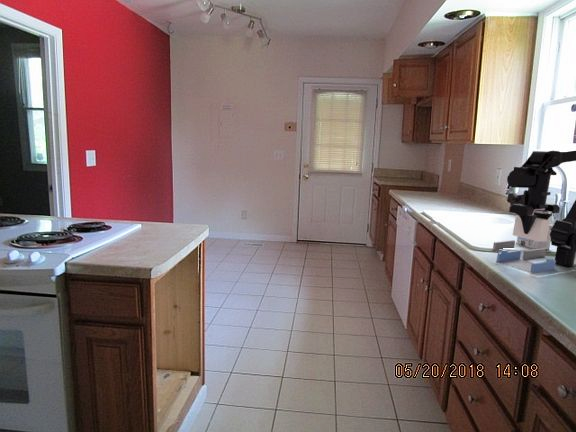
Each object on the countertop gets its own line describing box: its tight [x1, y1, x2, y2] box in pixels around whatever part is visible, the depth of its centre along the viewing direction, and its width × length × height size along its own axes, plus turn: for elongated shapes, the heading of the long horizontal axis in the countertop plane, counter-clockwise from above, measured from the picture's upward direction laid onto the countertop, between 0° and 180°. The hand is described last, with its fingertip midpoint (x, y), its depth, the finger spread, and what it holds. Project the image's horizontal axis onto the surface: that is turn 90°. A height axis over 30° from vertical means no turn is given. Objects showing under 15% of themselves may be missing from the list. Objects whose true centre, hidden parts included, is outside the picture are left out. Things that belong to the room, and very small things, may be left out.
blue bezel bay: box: [496, 249, 557, 274], centre depth 136 cm, size 12×13×4 cm
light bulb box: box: [515, 223, 554, 250], centre depth 162 cm, size 11×7×11 cm, turn 14°
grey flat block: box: [492, 239, 547, 260], centre depth 151 cm, size 12×13×3 cm
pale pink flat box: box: [512, 215, 551, 242], centre depth 133 cm, size 4×9×7 cm, turn 26°
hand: (530, 233), depth 134 cm, fingers closed on pale pink flat box, 4 cm apart
